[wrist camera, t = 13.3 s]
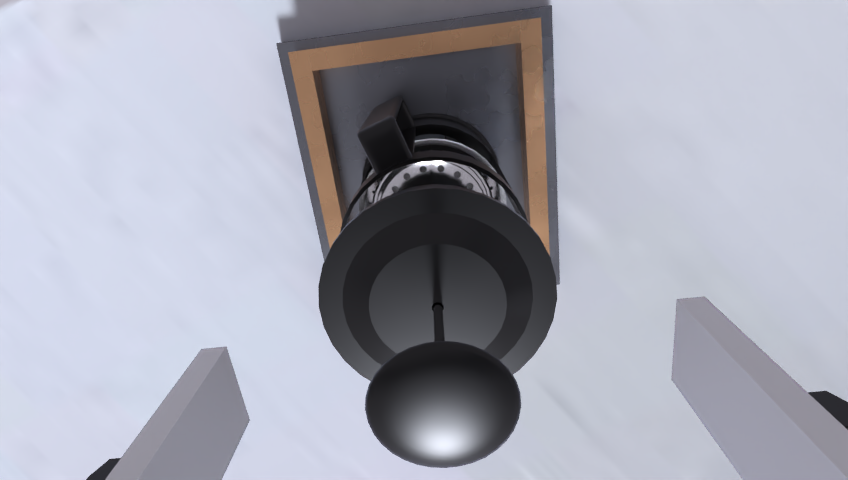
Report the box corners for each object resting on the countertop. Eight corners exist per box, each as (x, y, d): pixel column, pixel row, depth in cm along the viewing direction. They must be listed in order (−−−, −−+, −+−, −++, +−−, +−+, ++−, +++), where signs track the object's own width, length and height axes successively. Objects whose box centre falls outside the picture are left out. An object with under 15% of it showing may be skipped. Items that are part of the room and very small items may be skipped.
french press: (523, 222, 36) (671, 500, 14) (403, 272, 37) (375, 591, 16) (457, 62, 32) (528, 116, 10) (326, 125, 33) (149, 287, 12)
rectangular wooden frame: (547, 6, 32) (560, 3, 29) (555, 277, 39) (566, 297, 36) (281, 43, 32) (267, 43, 29) (337, 301, 39) (330, 323, 36)
